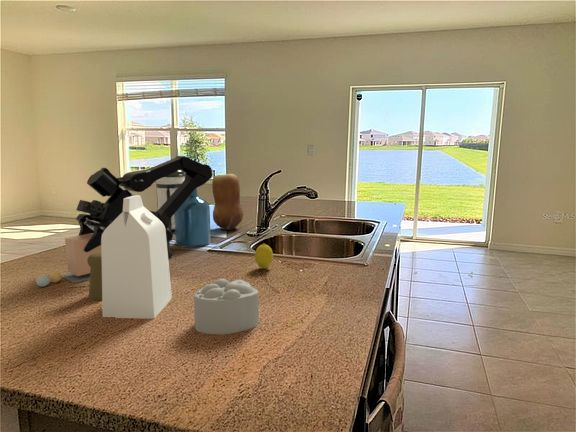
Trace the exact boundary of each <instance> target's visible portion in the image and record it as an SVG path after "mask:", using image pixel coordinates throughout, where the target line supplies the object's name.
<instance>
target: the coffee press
mask: <svg viewBox="0 0 576 432" xmlns="http://www.w3.org/2000/svg"><path fill="white" fill-rule="evenodd" d="M184 180H185V172H183V171H182V170H179V171H176V172H174V173H172V174H170V175H167V176H165V177H163V178H161V179H158V180H156V181H155V182H154V183H155V185H156V186H155V187H156V204H157V205H156V207H157V211H158V210H159V209H160V208H161V206H162V205H163V204H164V203H165V202H166V201H167V200H168V198H169V197H170V196H171V195H172V194H173V193H174V192H175V190H176V189H177V188H178V187H179V186H180V185H181V184H182V183H183V181H184ZM167 230H168V231H169V232H170V233H172V232H173V230H175V220H174V215H173V216H172V217H171V219H170V222H169V227H168V228H167ZM172 234H173V233H172Z"/></svg>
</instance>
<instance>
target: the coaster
mask: <svg viewBox="0 0 576 432" xmlns="http://www.w3.org/2000/svg"><path fill="white" fill-rule="evenodd" d="M61 279H64V280H66V281H68V282H70V283H71V284H78V283H81V282H87V281H90V273H89V274H84V275H80V276H76V275H74V274H72V273H70V272H69V273H67V274H66V273H65V274H61Z"/></svg>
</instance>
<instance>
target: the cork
mask: <svg viewBox="0 0 576 432" xmlns="http://www.w3.org/2000/svg"><path fill="white" fill-rule="evenodd" d="M87 262H88V265H89V266H90V267H91V269H90V280H89V288H88V299H89V300H92V301H102V257H101V252H98V253H93V254H91V255H89V257H88V260H87Z"/></svg>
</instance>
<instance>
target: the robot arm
mask: <svg viewBox="0 0 576 432" xmlns="http://www.w3.org/2000/svg"><path fill="white" fill-rule="evenodd" d="M179 170H182V171H183V172H185V173H186V175H185V180H184V181H183V183H182V184H181V185H180V186H179V187H178V188H177V189H176V190H175V192H174V193H173V194H172V195H171V196H170V197H169V198H168V200H167V201H166V202H165V203H164V204H163V205H162V206H161V208H160V209H159V210H158V209H157V210H156V211H152V210H149V211H150V212H151V213H152V214H153V215H155V216H156V217H157V218H158V219H159V220H160V221H161V222H162V223H163V224H164V226H165V230H166V240H167V251H168V259H169V258H172V257H173V254H171V244H170V242H172V240H173V237H174V235H173V233H170V232H169V231H168V229H167V228H168V227H169V222H170V219H171V217H172V216H173V215H174V214H175V212H176V211H177V210H178V209H179V208H180V207H181V205H182V204H183V203H184V202H185V201H186V199H187V198H188V197H189V196H190V195H191V194H192V192H193V191H194V190H195V189H196V188H197V189H198V188H200V187H202V186H203V185H205V184H206V183H208V181H210V180H211V179H212V178H213V171H212V170H213V169H212V167H211V166H210V165H208V164H203V163H201V162H198V161H196V160H193V159H192V158H190V157H188V156H186V155H177V156H175V157H174V158H171V159H170V160H166V161H165V162H162V163H160V164H157V165H154V166H152V167H150V168H149V167H148V168H147V169H142V170H136V171H135V170H134V171H131V172H126V173H124V174H123V175H122V176H121V177H116V176H115V175H113V173H112V172H111V171H110V170H109V169H108V168H107V167H101V169H100V170H97V171H96V172H94V173H93V174H91V175H90V176H89V177H88V178H87V182H86V184H87V185H88V186H89V187H90V188H91V189H93V190H94V191H95V192H97V193H98V194H99V195H100V196H101V197H102V198H103V197H108V198H107V199H106V200H105V202H101V201H100V200H95V199H93V200H92V201H88V200H84V199H80V200H79V201H78V204H77V207H76V208H75V209H76V211H78V212H83V213H79V214H78V215H77V216H76V217H75V220H76V221H77V222H78V224H79V227H80V229H79V233H78V234H77V236H79V235H85V234H91V233H94V234H93V236H92V237H91V239H90V240H89V242H88V243H87V245H86V247H85V249H84V251H85V252H89V251H91V250H92V249H94V248H96V247H98V246H100V245H101V237H102V234H103V232H104V230H105V229H106V228H107V227H108V226H109V225H110V224H111V223H112V222H113V221H114V220H115V219H116V218H117V217H118V216H119V215H120V214H121V213H122V212H123V200H124V198H127V197H130V196H134V195H135V194H132V192H136V193H141V192H144V191H146V190H147V189H148V188H150V187H151V186H152V185H153V184H154V183H156V182H155V181H156V180H158V179H161V178H163V177H165V176H167V175H170V174H172V173H174V172H176V171H179ZM123 188H124V189H123Z"/></svg>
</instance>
